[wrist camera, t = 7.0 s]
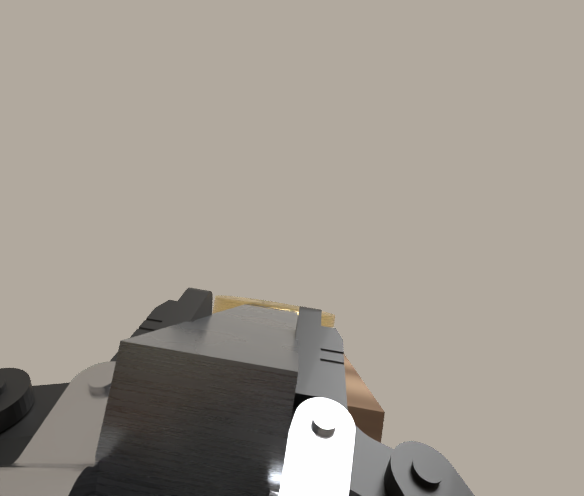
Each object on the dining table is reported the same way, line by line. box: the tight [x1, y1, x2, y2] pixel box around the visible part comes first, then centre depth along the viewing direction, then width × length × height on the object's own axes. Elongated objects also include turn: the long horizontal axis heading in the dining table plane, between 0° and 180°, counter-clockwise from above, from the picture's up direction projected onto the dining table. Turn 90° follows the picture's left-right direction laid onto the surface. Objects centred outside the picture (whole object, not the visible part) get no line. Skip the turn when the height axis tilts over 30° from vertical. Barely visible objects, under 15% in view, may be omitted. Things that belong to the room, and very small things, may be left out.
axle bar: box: [95, 296, 335, 496], centre depth 16 cm, size 21×8×3 cm, turn 179°
